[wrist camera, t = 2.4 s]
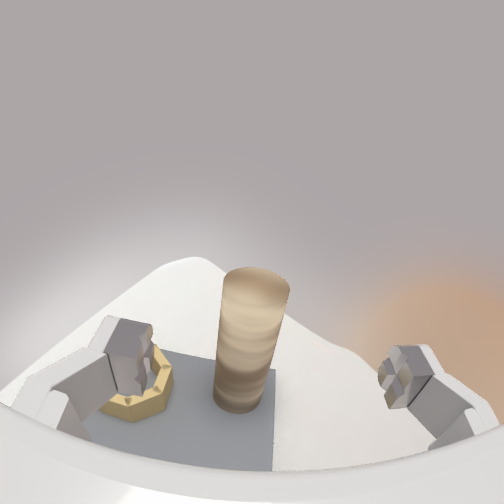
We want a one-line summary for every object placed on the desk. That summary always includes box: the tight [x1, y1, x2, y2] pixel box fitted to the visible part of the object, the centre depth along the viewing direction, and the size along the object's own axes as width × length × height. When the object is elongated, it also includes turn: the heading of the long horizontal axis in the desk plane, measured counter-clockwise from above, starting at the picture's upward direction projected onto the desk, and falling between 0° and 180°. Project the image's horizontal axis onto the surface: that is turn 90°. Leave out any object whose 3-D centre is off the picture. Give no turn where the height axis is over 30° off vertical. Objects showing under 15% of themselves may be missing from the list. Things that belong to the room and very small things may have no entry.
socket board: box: [82, 344, 276, 471], centre depth 24 cm, size 17×20×4 cm
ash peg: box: [213, 267, 290, 414], centre depth 25 cm, size 5×5×14 cm
